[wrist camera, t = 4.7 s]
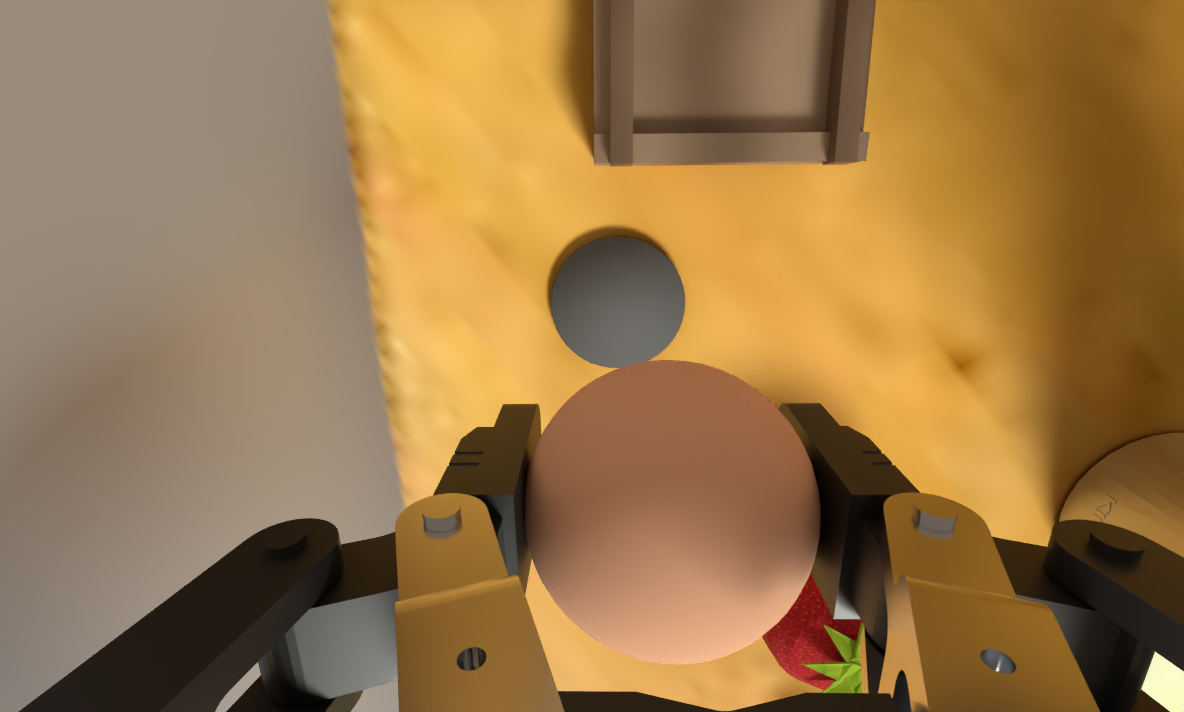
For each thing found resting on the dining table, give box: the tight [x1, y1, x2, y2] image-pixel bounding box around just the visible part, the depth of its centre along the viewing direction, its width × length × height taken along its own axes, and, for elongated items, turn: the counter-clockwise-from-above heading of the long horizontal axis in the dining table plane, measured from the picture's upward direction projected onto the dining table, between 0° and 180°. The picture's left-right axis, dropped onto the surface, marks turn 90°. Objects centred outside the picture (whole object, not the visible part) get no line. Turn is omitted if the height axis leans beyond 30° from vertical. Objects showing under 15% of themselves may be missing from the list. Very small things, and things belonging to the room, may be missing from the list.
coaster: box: [551, 236, 685, 368], centre depth 27 cm, size 6×6×1 cm
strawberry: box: [763, 572, 864, 693], centre depth 26 cm, size 6×8×10 cm
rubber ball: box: [525, 360, 821, 664], centre depth 10 cm, size 5×5×5 cm
